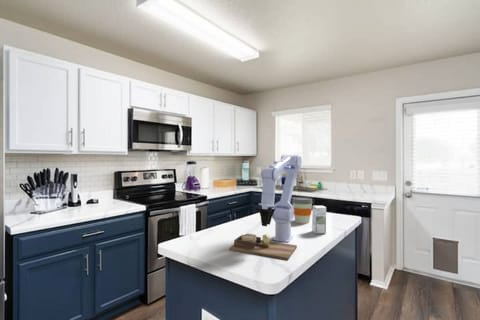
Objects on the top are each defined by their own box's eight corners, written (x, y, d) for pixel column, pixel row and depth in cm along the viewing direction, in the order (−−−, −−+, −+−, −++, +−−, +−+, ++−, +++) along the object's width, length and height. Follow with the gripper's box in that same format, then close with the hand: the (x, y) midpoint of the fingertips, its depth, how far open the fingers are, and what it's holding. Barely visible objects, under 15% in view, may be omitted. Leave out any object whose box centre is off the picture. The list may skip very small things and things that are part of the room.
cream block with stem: (246, 241, 121) (246, 231, 121) (270, 245, 116) (270, 234, 116) (241, 245, 117) (242, 234, 117) (267, 249, 112) (267, 237, 112)
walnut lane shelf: (244, 239, 128) (244, 232, 128) (296, 247, 117) (296, 239, 117) (229, 250, 113) (229, 242, 113) (288, 260, 102) (288, 251, 102)
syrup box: (322, 231, 144) (322, 205, 144) (326, 234, 138) (326, 207, 138) (312, 231, 144) (312, 205, 144) (315, 234, 138) (315, 207, 138)
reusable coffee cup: (291, 219, 172) (291, 196, 172) (310, 219, 170) (311, 197, 170) (292, 223, 159) (292, 199, 159) (313, 224, 158) (313, 200, 157)
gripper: (262, 193, 124) (260, 222, 122) (256, 193, 110) (253, 225, 108) (277, 195, 122) (275, 224, 120) (272, 194, 108) (270, 227, 106)
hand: (265, 225), depth 114 cm, fingers open, 7 cm apart
